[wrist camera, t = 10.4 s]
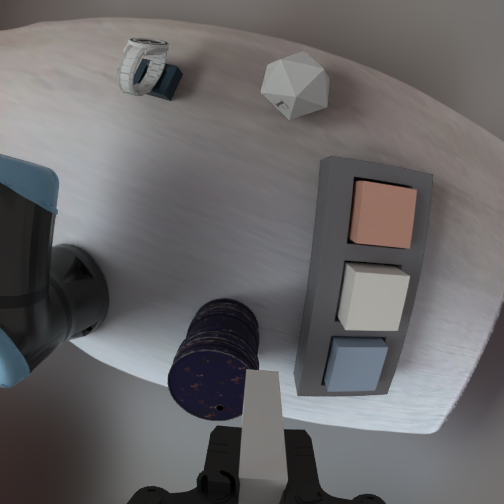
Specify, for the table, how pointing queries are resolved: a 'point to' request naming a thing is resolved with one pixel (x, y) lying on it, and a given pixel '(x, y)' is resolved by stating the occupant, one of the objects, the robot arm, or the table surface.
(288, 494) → the robot arm
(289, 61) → the die
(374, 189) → the terracotta key
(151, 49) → the watch
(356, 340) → the slate blue key
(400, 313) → the white key
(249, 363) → the storage jar
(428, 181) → the keypad housing
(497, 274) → the table surface
